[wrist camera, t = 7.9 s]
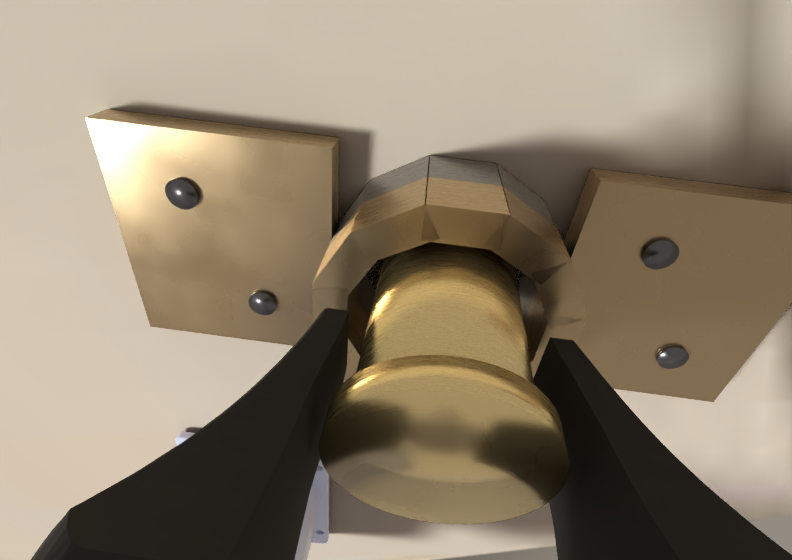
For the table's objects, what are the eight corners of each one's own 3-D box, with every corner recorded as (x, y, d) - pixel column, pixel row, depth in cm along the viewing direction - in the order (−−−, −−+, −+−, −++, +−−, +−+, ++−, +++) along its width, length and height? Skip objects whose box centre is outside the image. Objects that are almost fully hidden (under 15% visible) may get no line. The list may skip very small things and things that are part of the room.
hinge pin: (504, 330, 16) (528, 538, 10) (369, 310, 16) (321, 504, 10) (546, 209, 13) (612, 415, 7) (376, 186, 13) (314, 370, 7)
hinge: (700, 382, 17) (750, 461, 14) (163, 310, 18) (110, 373, 15) (836, 198, 13) (948, 261, 10) (107, 109, 13) (13, 144, 10)
